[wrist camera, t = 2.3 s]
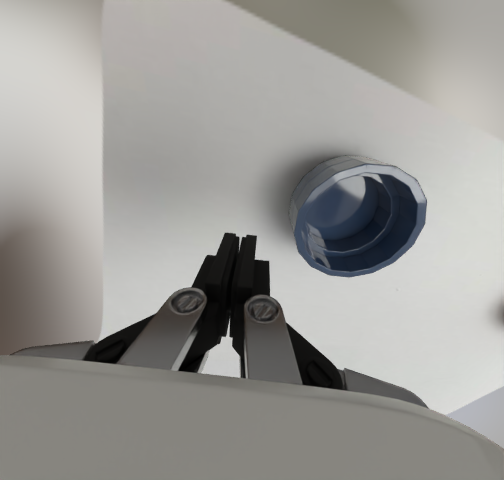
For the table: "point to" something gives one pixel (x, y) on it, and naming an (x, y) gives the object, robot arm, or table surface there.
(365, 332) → the table surface
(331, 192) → the bowl
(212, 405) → the robot arm
